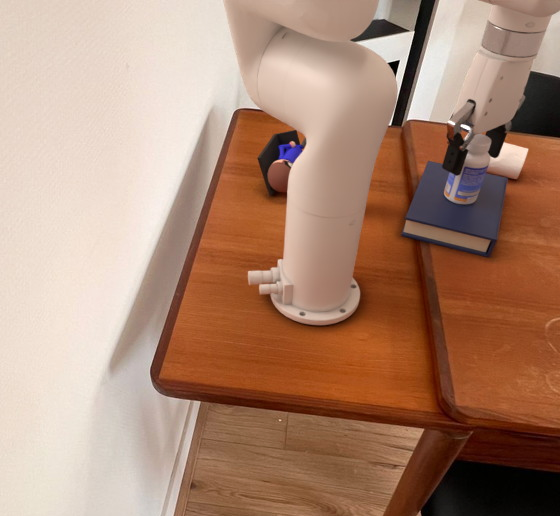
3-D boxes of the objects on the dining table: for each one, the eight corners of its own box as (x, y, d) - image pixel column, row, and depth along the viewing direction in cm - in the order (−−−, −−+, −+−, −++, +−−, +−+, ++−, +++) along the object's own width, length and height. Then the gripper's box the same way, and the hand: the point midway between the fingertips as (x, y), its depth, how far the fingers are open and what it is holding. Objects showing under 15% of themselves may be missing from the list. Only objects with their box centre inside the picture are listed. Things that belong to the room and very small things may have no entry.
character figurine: (313, 167, 99) (289, 208, 90) (276, 156, 100) (249, 197, 90) (320, 126, 93) (295, 166, 83) (281, 115, 94) (252, 153, 84)
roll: (456, 156, 104) (465, 127, 100) (518, 170, 101) (530, 142, 97) (450, 169, 100) (459, 140, 96) (515, 185, 97) (527, 156, 93)
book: (489, 258, 82) (497, 239, 80) (400, 235, 85) (405, 217, 83) (501, 195, 95) (508, 177, 92) (423, 178, 98) (428, 160, 95)
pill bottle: (482, 198, 87) (504, 140, 80) (464, 209, 85) (484, 150, 77) (455, 184, 90) (473, 127, 82) (436, 195, 87) (454, 137, 80)
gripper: (524, 21, 76) (483, 139, 89) (448, 42, 68) (415, 168, 81) (571, 37, 72) (521, 157, 85) (496, 61, 64) (454, 189, 77)
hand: (470, 162), depth 83 cm, fingers open, 9 cm apart
